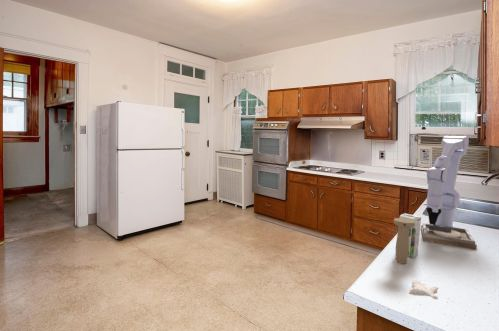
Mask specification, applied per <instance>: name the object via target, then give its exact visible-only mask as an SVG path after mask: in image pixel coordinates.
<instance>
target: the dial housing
mask: <svg viewBox="0 0 499 331" xmlns="http://www.w3.org/2000/svg"><path fill="white" fill-rule="evenodd" d="M429 224H430V223H427V222H426V223H425V222H423V223H422V225H421V224H420V231H421V232H420V233H421V237H422V241H424V242H427V243H429V242H430V243H436V244H442V245H448V246H454V247H461V248H467V249H473V250H477V248H478V246H477V243H476V240H475V239H474V237H473V236H472V234H471V233H470V232H469V229H467V228H461V227H455V226H454V227H451V230H455V231H457V232H459V233H461V237H460V238H453V237H450V236H448V237H446V236H439V235H436V234H434V233H433V230H429ZM438 226H441V225H438ZM447 227H448V226H447Z"/></svg>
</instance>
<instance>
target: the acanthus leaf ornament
mask: <svg viewBox="0 0 499 331" xmlns="http://www.w3.org/2000/svg"><path fill="white" fill-rule="evenodd" d="M438 289H439V287H438V286H435V285H431V286H428V284H426V283H425V282H421V281H420V280H418V279H415V278H413V279H412V287H411V288H410V289H409V294H418V295H427V296H429V297H431V298H433V299H436V300H438V299H439V297H438V295H436V294H435V293H437V292H438Z"/></svg>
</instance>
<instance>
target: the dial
mask: <svg viewBox="0 0 499 331" xmlns="http://www.w3.org/2000/svg"><path fill="white" fill-rule="evenodd" d="M428 224H429V230H433V233H434V234H436V235H439V236H446V237H448V236H450V237H453V238H460V237H461V233H459V232H457V231H455V230H451V227H447V226H438V225H433V224H430V223H428Z"/></svg>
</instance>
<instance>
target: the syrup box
mask: <svg viewBox="0 0 499 331" xmlns="http://www.w3.org/2000/svg"><path fill="white" fill-rule="evenodd" d="M398 218H402V219H409V220H413V221H415V226H414V227H411V228H410V229H409V252H408V257H410V258H414V257H416V255H418V254H419V247H420V246H419V245H420V234H421V232H420V231H421V223H422V221H421V220H422V216H420V215H419V216H418V215H414V214H409V213H402V214H400V215H399V217H398Z"/></svg>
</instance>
